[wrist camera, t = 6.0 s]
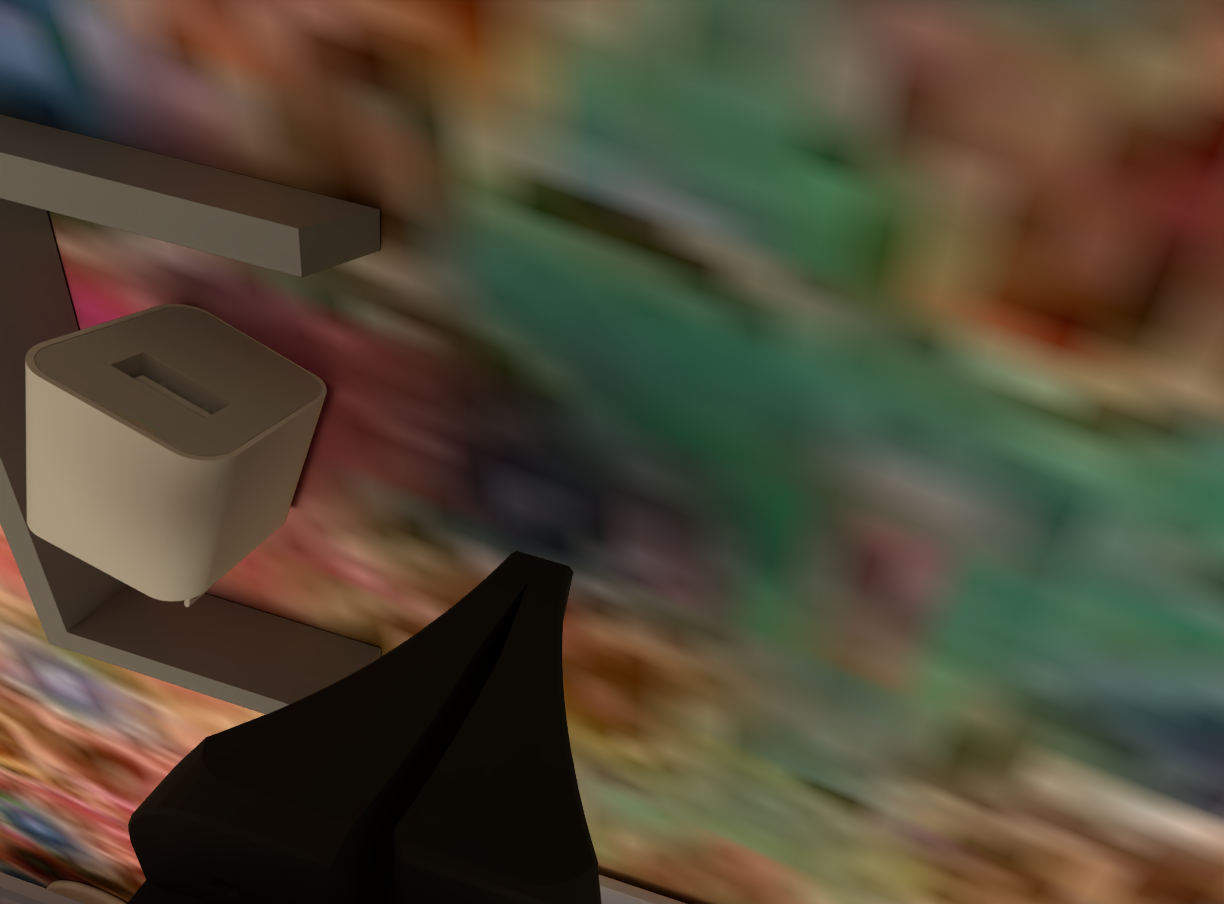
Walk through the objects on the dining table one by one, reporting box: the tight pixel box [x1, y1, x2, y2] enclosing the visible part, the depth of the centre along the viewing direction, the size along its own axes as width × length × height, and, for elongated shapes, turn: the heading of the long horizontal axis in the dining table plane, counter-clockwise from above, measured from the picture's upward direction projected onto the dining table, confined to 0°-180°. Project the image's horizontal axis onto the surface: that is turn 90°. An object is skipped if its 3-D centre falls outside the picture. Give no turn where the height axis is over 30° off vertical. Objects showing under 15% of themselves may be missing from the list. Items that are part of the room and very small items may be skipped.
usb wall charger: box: [25, 304, 327, 607], centre depth 14 cm, size 4×7×4 cm, turn 150°
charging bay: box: [0, 114, 381, 714], centre depth 15 cm, size 14×9×2 cm, turn 169°
